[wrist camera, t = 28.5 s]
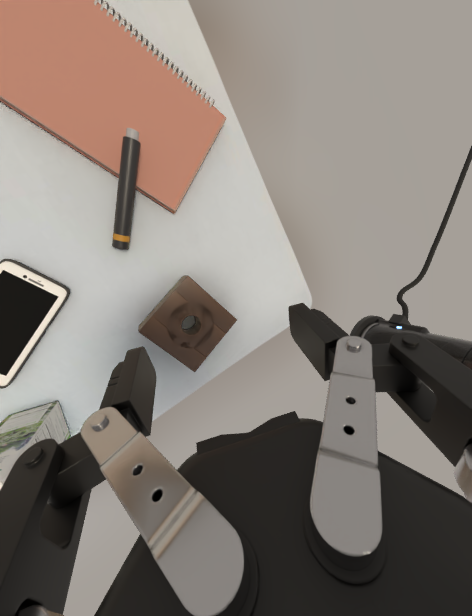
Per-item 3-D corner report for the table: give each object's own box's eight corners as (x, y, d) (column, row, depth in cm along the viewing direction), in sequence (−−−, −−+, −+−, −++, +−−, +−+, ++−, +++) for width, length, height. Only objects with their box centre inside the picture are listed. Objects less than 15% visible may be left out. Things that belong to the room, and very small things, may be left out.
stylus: (128, 125, 27) (116, 248, 31) (145, 134, 29) (131, 250, 33) (120, 126, 28) (109, 245, 32) (136, 135, 30) (124, 247, 34)
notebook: (226, 119, 36) (230, 110, 34) (174, 214, 35) (175, 210, 33) (19, -67, 26) (10, -93, 24) (-64, 60, 25) (-80, 43, 23)
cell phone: (-68, 363, 27) (-75, 365, 27) (7, 255, 29) (3, 255, 28) (8, 388, 30) (4, 391, 29) (73, 289, 32) (71, 290, 31)
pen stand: (183, 275, 37) (187, 275, 33) (228, 315, 40) (237, 319, 37) (138, 325, 35) (138, 331, 32) (189, 363, 39) (194, 372, 35)
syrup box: (22, 452, 32) (-65, 579, 18) (7, 413, 31) (-98, 518, 17) (71, 435, 34) (25, 539, 20) (58, 397, 33) (0, 481, 19)
